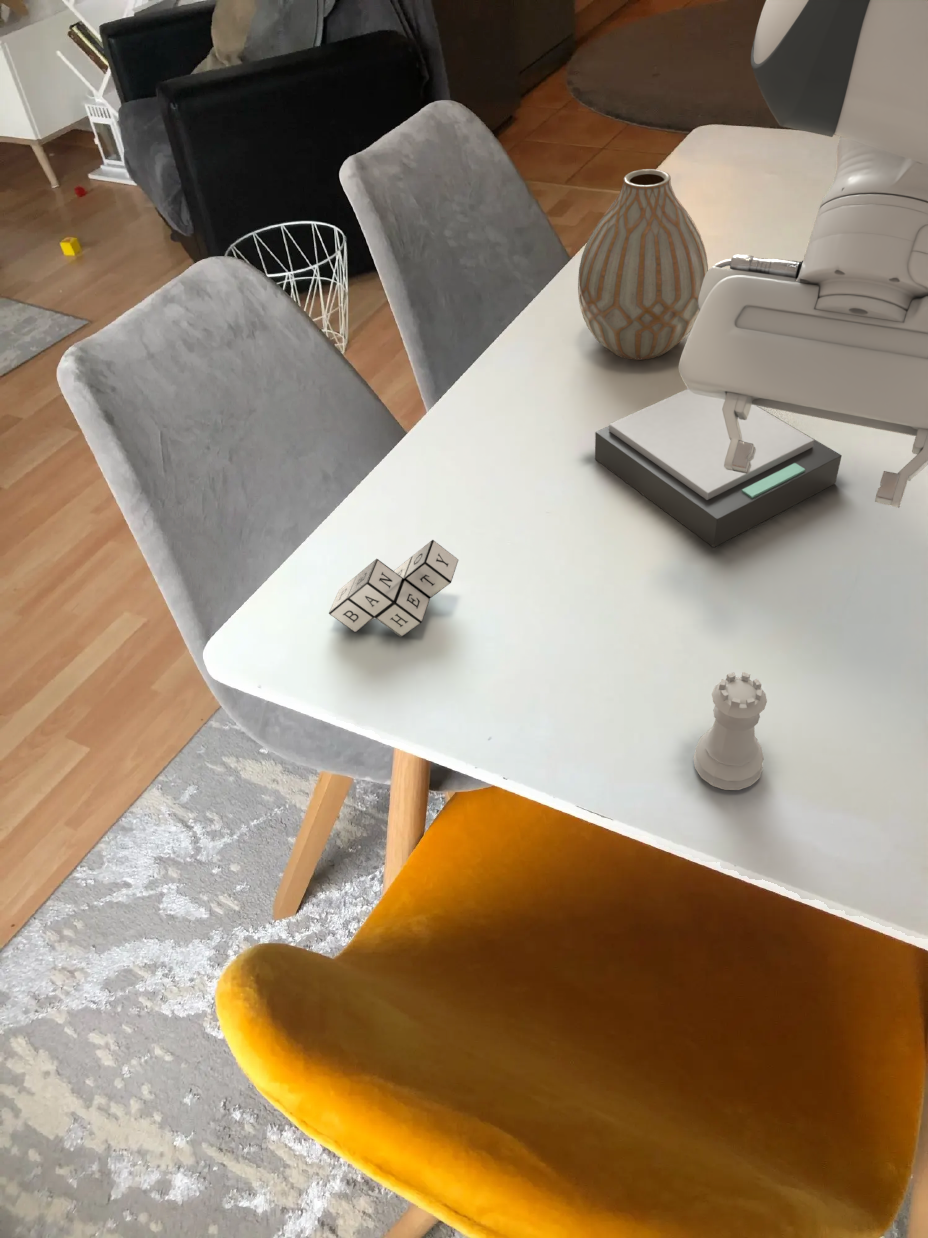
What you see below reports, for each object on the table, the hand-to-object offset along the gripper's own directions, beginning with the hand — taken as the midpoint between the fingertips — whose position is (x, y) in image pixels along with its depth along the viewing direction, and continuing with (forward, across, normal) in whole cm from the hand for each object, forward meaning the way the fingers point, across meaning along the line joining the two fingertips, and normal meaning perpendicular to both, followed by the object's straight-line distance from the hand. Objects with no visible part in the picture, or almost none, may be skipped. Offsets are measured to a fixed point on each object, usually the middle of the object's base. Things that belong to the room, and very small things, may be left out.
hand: (809, 486), depth 61 cm
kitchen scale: (-3, -11, +24) cm, 26 cm away
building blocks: (+16, -28, +4) cm, 33 cm away
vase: (-16, -25, +37) cm, 47 cm away
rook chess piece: (+19, 0, +2) cm, 19 cm away
